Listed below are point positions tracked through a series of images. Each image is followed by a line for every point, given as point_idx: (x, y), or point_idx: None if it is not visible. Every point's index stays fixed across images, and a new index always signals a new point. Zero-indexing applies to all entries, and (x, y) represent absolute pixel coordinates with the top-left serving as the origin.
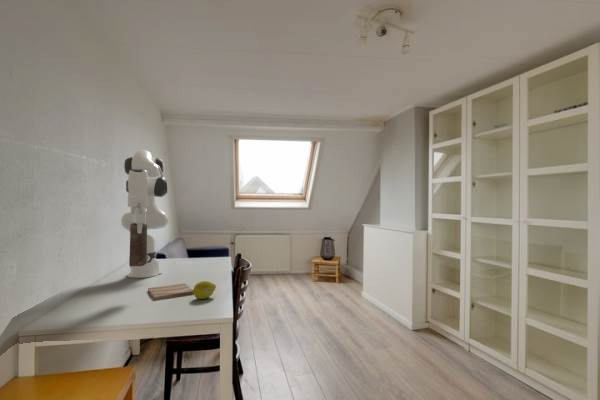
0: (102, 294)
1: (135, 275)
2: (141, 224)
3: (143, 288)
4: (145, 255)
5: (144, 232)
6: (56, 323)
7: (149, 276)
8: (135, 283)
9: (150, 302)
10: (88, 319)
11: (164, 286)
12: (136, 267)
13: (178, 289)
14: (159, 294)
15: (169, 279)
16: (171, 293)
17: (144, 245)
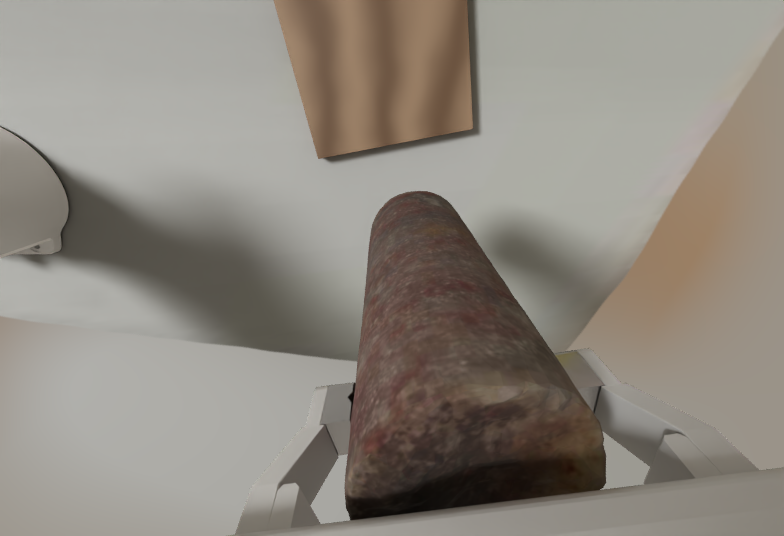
0: (319, 296)
1: (54, 226)
2: (735, 464)
3: (269, 177)
4: (451, 212)
5: (532, 323)
6: (544, 339)
7: (44, 162)
8: (174, 214)
9: (492, 140)
10: (559, 289)
11: (308, 81)
12: (8, 236)
13: (392, 3)
14: (446, 106)
15: (91, 51)
16: (454, 47)
17: (478, 248)
